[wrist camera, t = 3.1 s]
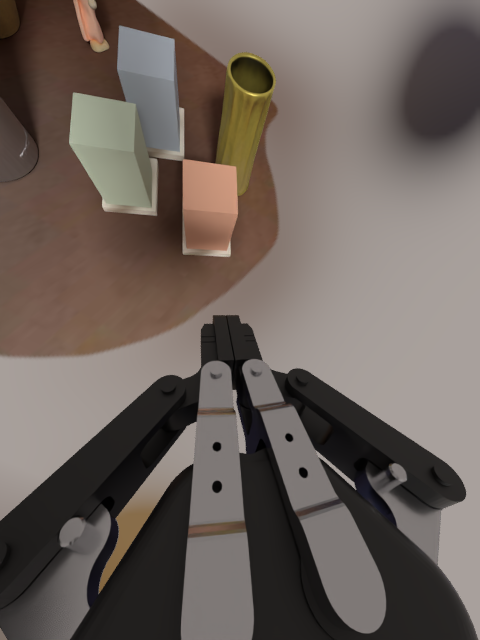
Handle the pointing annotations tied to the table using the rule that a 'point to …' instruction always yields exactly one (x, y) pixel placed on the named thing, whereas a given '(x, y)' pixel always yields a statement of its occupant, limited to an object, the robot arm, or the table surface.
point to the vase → (244, 113)
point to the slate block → (151, 85)
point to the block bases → (153, 211)
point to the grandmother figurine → (90, 24)
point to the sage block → (112, 149)
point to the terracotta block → (209, 204)
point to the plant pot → (8, 18)
